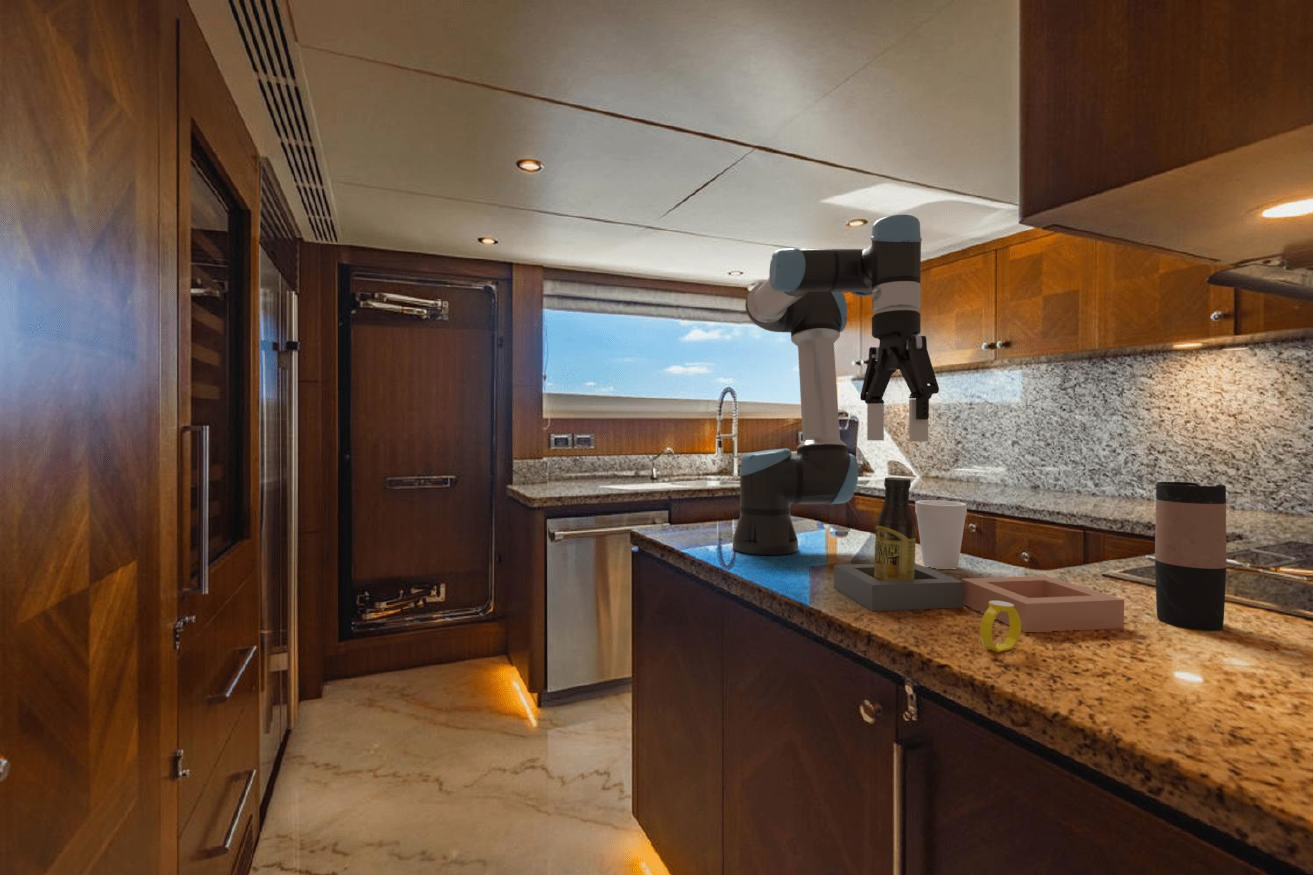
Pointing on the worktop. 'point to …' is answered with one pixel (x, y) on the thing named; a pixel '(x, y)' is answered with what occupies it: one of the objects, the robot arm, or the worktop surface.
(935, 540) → the foam cup
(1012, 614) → the watch
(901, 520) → the sauce bottle
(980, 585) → the holder
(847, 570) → the holder
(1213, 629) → the travel mug
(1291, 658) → the worktop surface
